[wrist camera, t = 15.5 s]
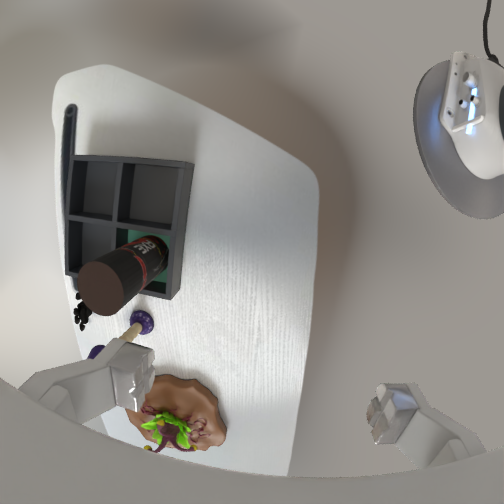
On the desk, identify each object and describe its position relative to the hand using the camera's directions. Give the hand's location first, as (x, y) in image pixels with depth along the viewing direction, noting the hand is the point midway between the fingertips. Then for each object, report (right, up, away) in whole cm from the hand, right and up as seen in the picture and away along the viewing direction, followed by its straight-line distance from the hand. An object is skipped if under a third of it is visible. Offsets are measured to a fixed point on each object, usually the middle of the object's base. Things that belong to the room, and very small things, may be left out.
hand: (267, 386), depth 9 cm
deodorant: (-15, +4, +32) cm, 36 cm away
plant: (-16, -27, +40) cm, 51 cm away
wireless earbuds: (-28, -5, +36) cm, 46 cm away
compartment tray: (-19, +9, +32) cm, 38 cm away
